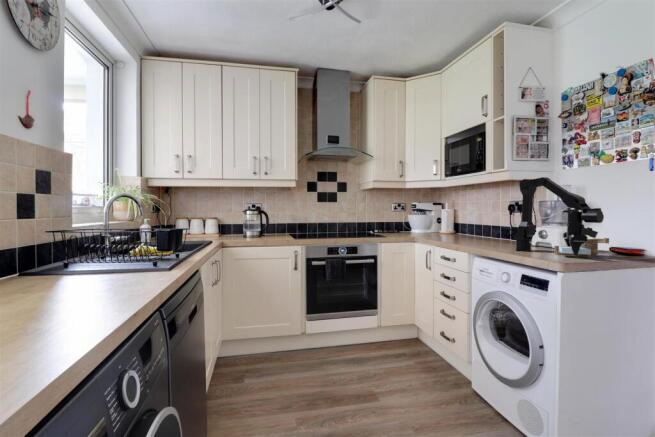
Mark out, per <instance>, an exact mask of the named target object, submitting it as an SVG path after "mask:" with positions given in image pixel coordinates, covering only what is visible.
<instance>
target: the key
mask: <svg viewBox="0 0 655 437" xmlns="http://www.w3.org/2000/svg"><path fill="white" fill-rule="evenodd" d="M588 239H598V244H610V238H609V237H603V238H593V237H590V238H589V237H588Z"/></svg>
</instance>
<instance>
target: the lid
mask: <svg viewBox="0 0 655 437" xmlns="http://www.w3.org/2000/svg"><path fill="white" fill-rule="evenodd" d="M558 246H559V252H561V253H571V254H574V253H573V250H572V248H571V247H565V246H566V245H558ZM578 254H589V255H591V249H589V248H587V247H580V249H579V252H578Z"/></svg>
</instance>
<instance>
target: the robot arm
mask: <svg viewBox="0 0 655 437" xmlns="http://www.w3.org/2000/svg"><path fill="white" fill-rule="evenodd" d="M518 186H519V191H520V193H521V196H522V199H521V200H522V201H521V203H522V204H521V205H522V206H521V222H520V223H519V225H518V229H517V231H516V233H514V234H512V238H513V240H514V241H515V251H517V252H530V251H531V250H532V247H531V246H532V243H531V242H530V240H531V241H532V239H533V237H534V236H535V235H536V233H537V224H534V222H533V208H534V206H533V204H534V195H535V193H536V191H537V188H538V187H539V188H540V187H542V186H543V187H544V188H545V189H547V190H548V191H550V192H551V193H553V194H554V195H555V196H557V197H558V198H560V199H561V201H562V203H563V204H564V205H565V206H566V208H565V209H564V210H562V214H563V213H566V214H567V221H566V224H565V225H566V227H567V228H566V230H567V231H564V232H563V233H562V238H563V240H564V241H565V244H566V246H568V247H571V248H572V250H573V253H574V255H578V252H579V249H580V247H581V245H582V244H583V243H585V242H586V241H588V238H589V237H590V238H596V237H597V236H598V233H599V231H596V230H593V228H592V227H590V226H589V227H585V225H584V224H583V222H584V223H587V224H588V223H591V224H593V223H594V224H602V223H603V221H604V219H605V215H604V213H603V211H602V208H600V207H595V208H591V207H590V206H589V205H588V204H587V202H586V199H585V197H583V196H581V195H579V194H576V193H574V192H572V191H571V192H570V191H568V190H567V189H565V188H563V187H562V186H561V185H559V184H558V183H556V182H555V181H554V180H551V178H550V177H546V176H545V177H543V176H542V177H539V178H538V177H537V178H531V179H530V178H524V179H521V180H520V181H519V184H518ZM584 234H585V235H584Z"/></svg>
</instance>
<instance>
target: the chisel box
mask: <svg viewBox="0 0 655 437" xmlns="http://www.w3.org/2000/svg"><path fill="white" fill-rule="evenodd" d="M598 239H599V238H597V239H588V241H586V242H585V243H584V247H587V248H589V249H591V255H589V254H578V255H574V254H571V253H561V252H559V246H560V245H554V255H556V256H557V255H559V256H571V257H593V258H597V257H598V256H599V255H598V254H599V253H598V251H599V247H598V246H599V243H598ZM564 246H565V247H568V246H567V245H564Z"/></svg>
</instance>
